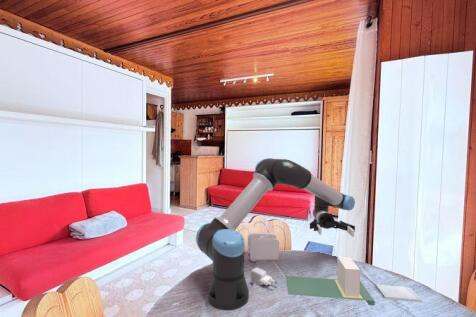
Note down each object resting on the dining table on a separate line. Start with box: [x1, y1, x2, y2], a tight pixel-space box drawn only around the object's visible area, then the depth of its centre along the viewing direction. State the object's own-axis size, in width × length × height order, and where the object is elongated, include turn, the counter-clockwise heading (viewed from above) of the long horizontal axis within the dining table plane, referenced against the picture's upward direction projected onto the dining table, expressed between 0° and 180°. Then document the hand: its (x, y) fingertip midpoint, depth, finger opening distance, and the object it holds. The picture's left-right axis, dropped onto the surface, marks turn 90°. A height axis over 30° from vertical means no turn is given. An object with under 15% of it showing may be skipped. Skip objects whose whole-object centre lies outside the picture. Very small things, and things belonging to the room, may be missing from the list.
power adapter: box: [250, 267, 279, 287], centre depth 94 cm, size 11×5×6 cm, turn 46°
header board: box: [285, 275, 376, 306], centre depth 91 cm, size 30×13×6 cm, turn 83°
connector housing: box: [336, 256, 361, 297], centre depth 90 cm, size 5×10×10 cm, turn 173°
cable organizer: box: [247, 232, 280, 263], centre depth 120 cm, size 15×11×12 cm
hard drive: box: [374, 284, 423, 303], centre depth 90 cm, size 2×8×12 cm
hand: (336, 232), depth 102 cm, fingers open, 13 cm apart
